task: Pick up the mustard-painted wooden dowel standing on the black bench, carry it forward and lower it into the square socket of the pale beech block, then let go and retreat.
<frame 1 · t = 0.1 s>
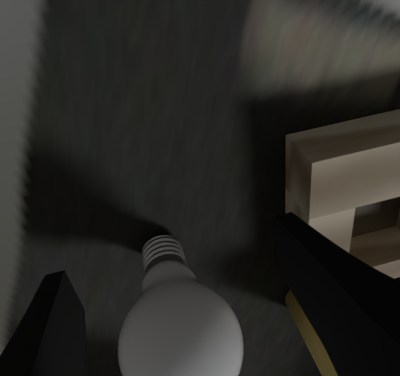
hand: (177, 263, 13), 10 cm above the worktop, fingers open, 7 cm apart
dowel: (306, 294, 32), on the worktop
socket block: (363, 190, 27), on the worktop
lightbulb: (160, 241, 26), on the worktop
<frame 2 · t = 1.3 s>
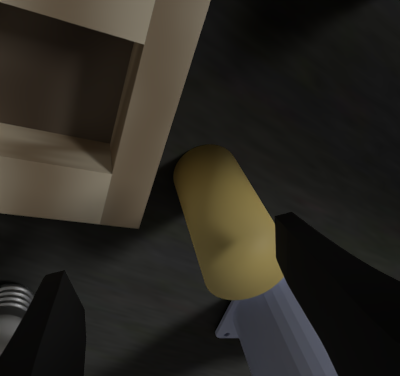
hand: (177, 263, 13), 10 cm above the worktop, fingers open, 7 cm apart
dowel: (205, 173, 23), on the worktop
socket block: (35, 66, 17), on the worktop
lightbulb: (13, 288, 25), on the worktop
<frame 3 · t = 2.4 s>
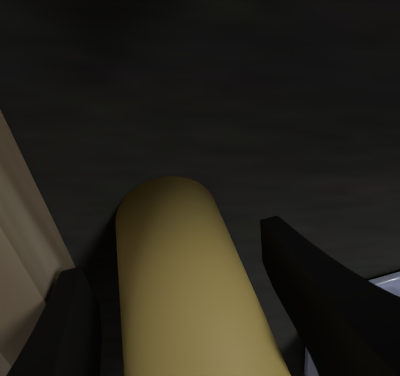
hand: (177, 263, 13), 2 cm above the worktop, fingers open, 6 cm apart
dowel: (167, 219, 15), on the worktop
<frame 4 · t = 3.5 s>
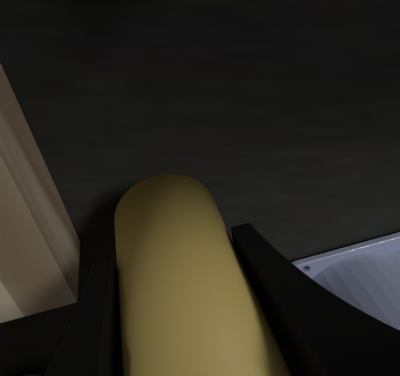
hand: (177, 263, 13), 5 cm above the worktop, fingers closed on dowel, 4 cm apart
dowel: (166, 217, 15), point 2 cm above the worktop, touching gripper
lightbulb: (30, 374, 22), on the worktop
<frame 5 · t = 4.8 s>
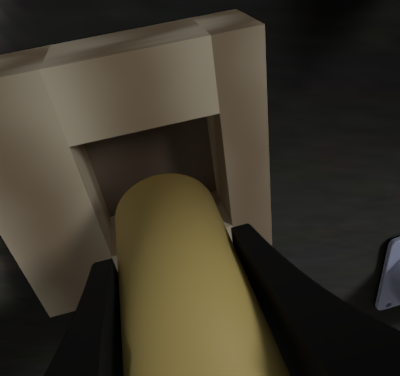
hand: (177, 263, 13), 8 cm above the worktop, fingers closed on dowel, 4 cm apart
dowel: (166, 216, 15), point 5 cm above the worktop, touching gripper
socket block: (132, 158, 19), on the worktop
when the fingers open (4 cm above the worktop, at t = 5.8 s): dowel drops 1 cm, resting on socket block.
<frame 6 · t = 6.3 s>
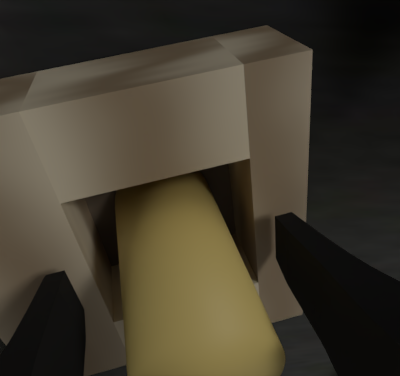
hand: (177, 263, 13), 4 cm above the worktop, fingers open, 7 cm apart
dowel: (163, 200, 16), resting on socket block
socket block: (138, 199, 16), on the worktop
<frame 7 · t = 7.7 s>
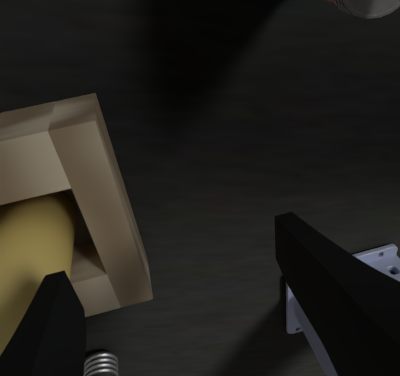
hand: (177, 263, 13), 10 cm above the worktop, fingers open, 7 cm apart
dowel: (40, 213, 21), resting on socket block
socket block: (23, 213, 22), on the worktop
lightbulb: (100, 352, 31), on the worktop
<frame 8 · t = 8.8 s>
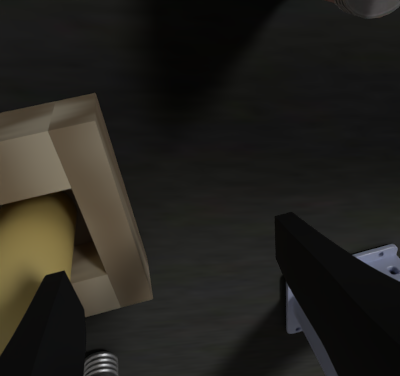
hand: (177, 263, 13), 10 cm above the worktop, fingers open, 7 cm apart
dowel: (40, 214, 21), resting on socket block
socket block: (23, 213, 22), on the worktop
lightbulb: (100, 352, 31), on the worktop
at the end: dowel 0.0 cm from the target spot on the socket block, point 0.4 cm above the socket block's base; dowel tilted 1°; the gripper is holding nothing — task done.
